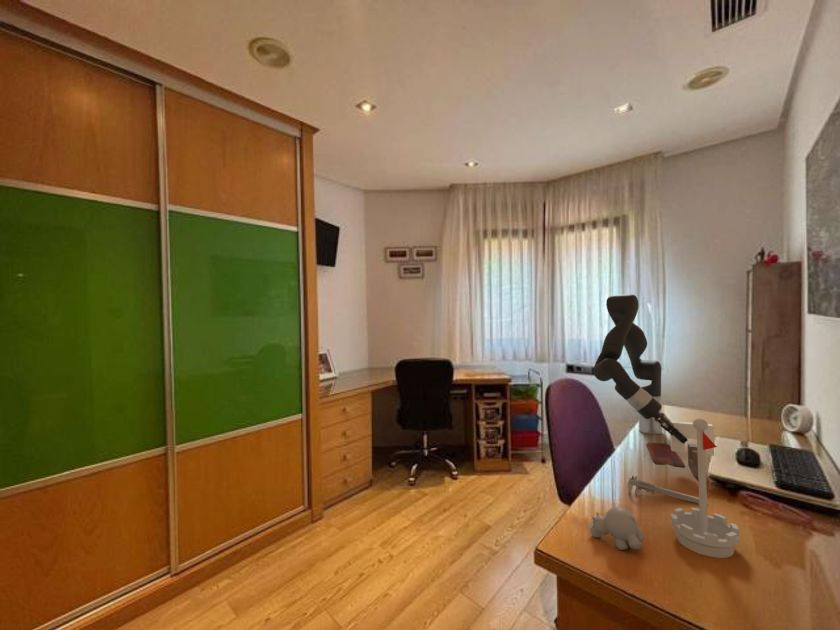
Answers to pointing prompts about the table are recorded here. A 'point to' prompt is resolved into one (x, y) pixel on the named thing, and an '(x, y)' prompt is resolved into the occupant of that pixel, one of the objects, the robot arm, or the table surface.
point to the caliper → (657, 490)
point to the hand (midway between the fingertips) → (684, 440)
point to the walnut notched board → (693, 459)
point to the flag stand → (704, 513)
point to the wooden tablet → (664, 455)
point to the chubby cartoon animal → (618, 528)
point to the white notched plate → (689, 436)
